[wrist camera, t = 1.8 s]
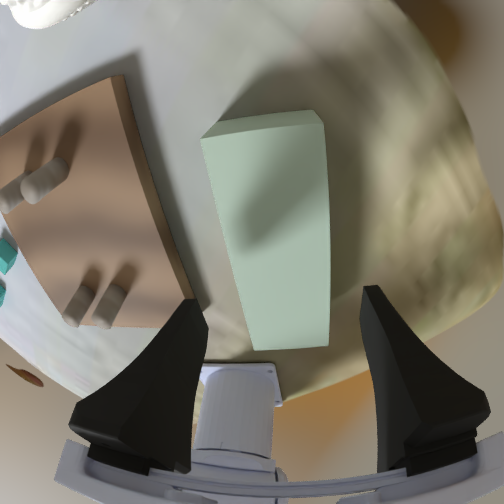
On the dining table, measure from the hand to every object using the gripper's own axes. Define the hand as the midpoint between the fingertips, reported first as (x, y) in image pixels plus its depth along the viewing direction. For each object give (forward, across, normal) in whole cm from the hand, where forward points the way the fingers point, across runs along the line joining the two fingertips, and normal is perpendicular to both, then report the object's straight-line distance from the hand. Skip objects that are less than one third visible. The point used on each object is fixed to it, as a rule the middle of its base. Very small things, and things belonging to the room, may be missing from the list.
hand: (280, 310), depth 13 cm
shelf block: (+7, 0, 0) cm, 7 cm away
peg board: (+7, +14, -2) cm, 16 cm away
